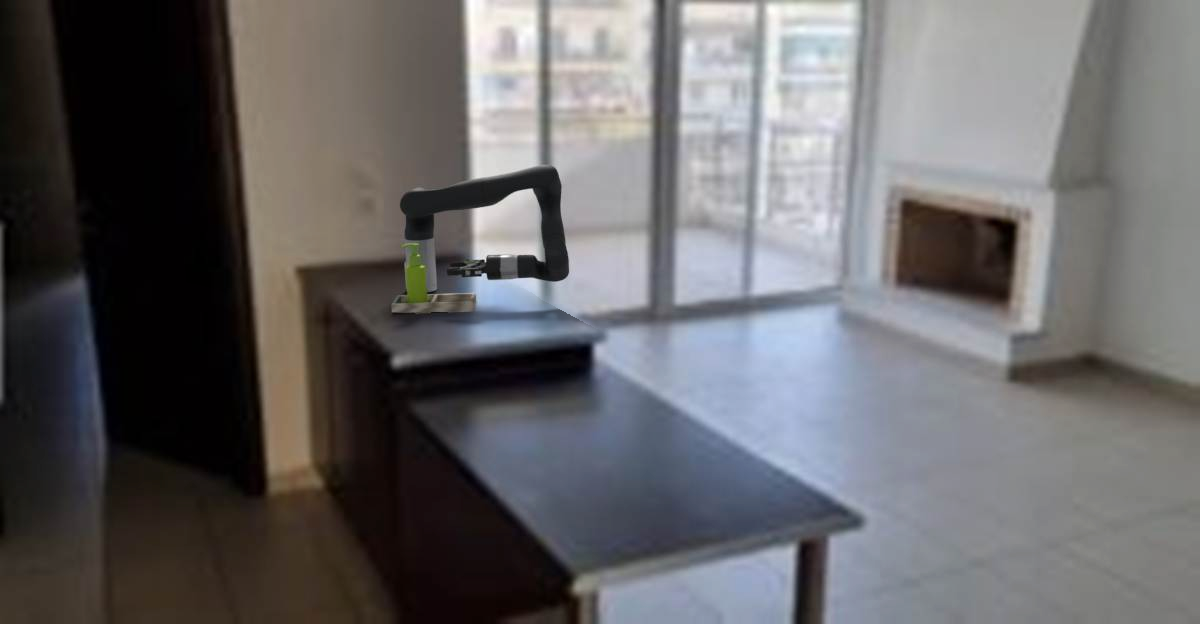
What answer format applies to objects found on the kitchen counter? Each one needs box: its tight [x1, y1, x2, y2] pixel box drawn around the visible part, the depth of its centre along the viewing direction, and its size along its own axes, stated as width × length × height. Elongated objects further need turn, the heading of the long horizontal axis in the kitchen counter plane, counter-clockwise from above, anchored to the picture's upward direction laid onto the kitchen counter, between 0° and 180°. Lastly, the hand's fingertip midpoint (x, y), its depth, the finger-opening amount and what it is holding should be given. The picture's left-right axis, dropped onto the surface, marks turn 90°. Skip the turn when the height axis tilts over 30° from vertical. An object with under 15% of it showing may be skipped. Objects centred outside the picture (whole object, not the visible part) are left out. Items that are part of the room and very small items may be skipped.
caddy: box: [390, 292, 477, 314], centre depth 315 cm, size 24×12×3 cm, turn 92°
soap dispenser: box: [399, 243, 428, 303], centre depth 313 cm, size 6×7×20 cm
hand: (448, 268), depth 313 cm, fingers open, 8 cm apart
